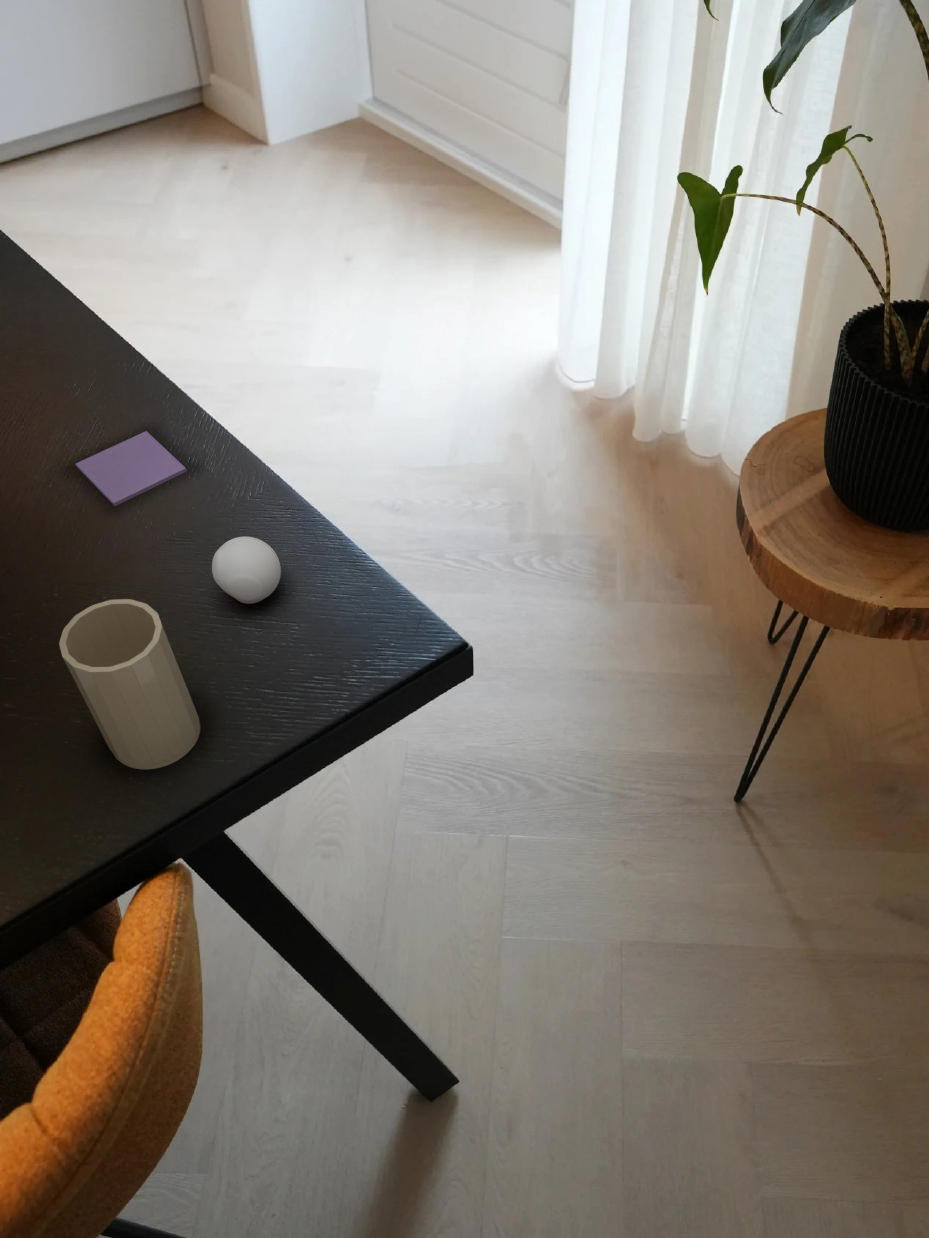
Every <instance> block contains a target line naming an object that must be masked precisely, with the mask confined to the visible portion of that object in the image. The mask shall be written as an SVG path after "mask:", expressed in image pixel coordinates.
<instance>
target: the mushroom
mask: <svg viewBox="0 0 929 1238" xmlns="http://www.w3.org/2000/svg"><path fill="white" fill-rule="evenodd" d="M211 573H212V578H213V580H214V581H215V583H216V584H217V586H218V587H219V588H220V589H221V590H222V591H223V592H225V593H226V594H227V595H229V596H231V597H232V598H234V599H235V600H236V601H238V602H240V603H243V604H246V605H247V604H248V605H250V604H256V603H259V602H262V601H263V600H265V599H267V597H269V596H271V594H273V592H274V591H275V590H276V589H277V588H278V585H279V584H280V580H281V574H282V568H281V563H280V559H279V557H278V555H277V553H276V551H275V550H274V549H273V548H272V547H271V546H270V545H269V544H268V543H267V542H265V541H263V540H261V539H259V538H257V537H254V536H237V537H233V538H231V539H229V540H228V541H226V542H224V543H223V544H222V545H221V546H220V547H219V548H218V549H217V550H216V551H215V553H214V555H213V556H212V562H211Z"/></svg>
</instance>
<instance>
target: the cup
mask: <svg viewBox="0 0 929 1238" xmlns="http://www.w3.org/2000/svg"><path fill="white" fill-rule="evenodd" d="M58 645H59V650H60V654H61V657H62V659H63V661H64V663H65V664H66V667H67V669H68V671H69V672H70V675H71V676H72V679H73V680H74V682H75V685H76V687H77V689H78V690H79V692H80V694H81V696H82V698H83V701H84V702H85V704H86V706H87V708H88V710H89V712H90V714H91V716H92V717H93V720H94V722H95V723H96V726H97V727H98V729H99V731H100V734H101V736H102V737H103V739H104V741H105V743H106V745H107V747H108V749H109V750H110V752H111V753H112V756H114V758H115V759H116V760H117V761H119V762H120V763H121V764H122V765H124V766H127V767H129V768H131V769H138V770H155V769H160V768H163V767H166V766H169V765H171V764H174V763H175V762H178V761H179V760H180V759H182V758H183V757H185V756H186V755H187V754H188V753H189V752H190V751H191V750H192V749H193V748H194V746H195V745H196V743H197V742H198V739H199V737H200V733H201V727H202V726H201V719H200V717H199V714H198V712H197V709H196V706H195V703H194V701H193V699H192V696H191V694H190V690H189V688H188V686H187V683H186V681H185V678H184V676H183V673H182V670H181V668H180V665H179V663H178V660H177V658H176V655H175V653H174V651H173V647H172V645H171V643H170V640H169V637H168V635H167V632H166V630H165V627H164V625H163V623H162V620H161V617H160V614H159V613H158V612H157V611H156V610H155V609H153V607H151V606H150V605H149V604H148V603H146V602H142V601H139V600H135V599H131V598H121V599H120V598H116V599H108V600H105V601H102V602H98V603H95V604H92V605H90V606H88V607H86V608H85V609H84V610H82V611H80V612H79V613H76V614H75V615H74V616H73V617H72V618H71V619H70V621H69V622H68V623H67V624H66V625H65V626H64V628H63V630H62V632H61V636H60V639H59V642H58Z"/></svg>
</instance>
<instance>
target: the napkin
mask: <svg viewBox="0 0 929 1238" xmlns="http://www.w3.org/2000/svg"><path fill="white" fill-rule="evenodd" d="M75 467H76V468H77V469H78V470H79V471H80V473H82V474H83V475H84V477H85V478H86V479H87V480H88V481H89V482H90V483H91V484H92V485H93V486H94V487H95V488H96V489H97V490H98V491H99V492H100V493H101V494H102V495H103V496H104V497H105V499H106V500H107V501H109V503H110V504H111V505H112V506H113V507H118V505H121V504H124V503H125V502H128V501H129V500H131V499H133V498H135V497H138V496H139V495H141V494H143V493H146V492H148V491H150V490H151V489H154V488H156V487H158V486H160V485H162V484H164V483H166V482H168V481H171V480H172V479H174V478H176V477H179V476H182V474H185V473H187V472H188V470H187V468H186V467H185V466H184V465H183V464H182V463H181V462H180V461H179V460H178V459H177V458H176V457H175V456H173V454H172V453H171V452H170V451H168V449H166V448H165V447H164V446H163V445H162V444H161V443H160V442H159V441H158V440H157V439H155V437H154V436H152V435H151V434H150V433H149V432H148V431H147V430H146V431H143V432H141V433H138V434H136V435H135V436H133V437H130V438H128V439H126V440H123V441H121V442H119V443H117V444H115V445H113V446H110V447H108V448H106V449H104V450H102V451H99V452H98V453H95V454H94V455H90V456H89V457H86V458H85V459H82V460H80V461H78V462H76V463H75Z"/></svg>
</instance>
